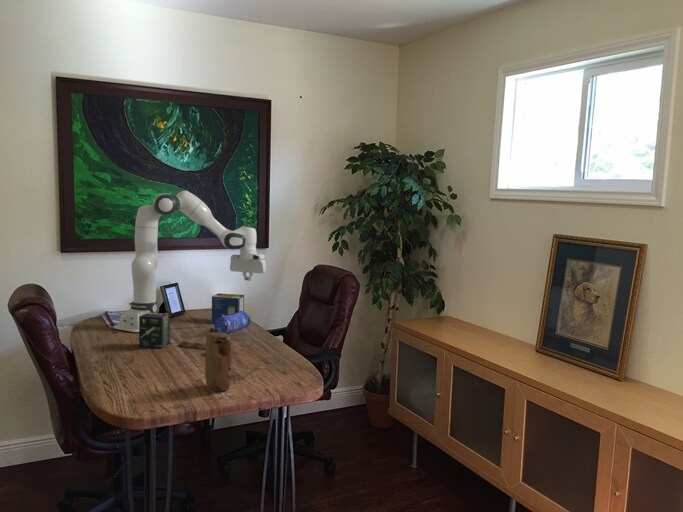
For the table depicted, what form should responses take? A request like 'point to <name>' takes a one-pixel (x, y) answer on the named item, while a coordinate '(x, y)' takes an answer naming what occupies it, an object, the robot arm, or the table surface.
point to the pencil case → (232, 322)
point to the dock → (191, 341)
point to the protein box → (226, 305)
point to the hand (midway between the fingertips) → (247, 280)
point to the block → (218, 361)
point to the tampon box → (154, 330)
